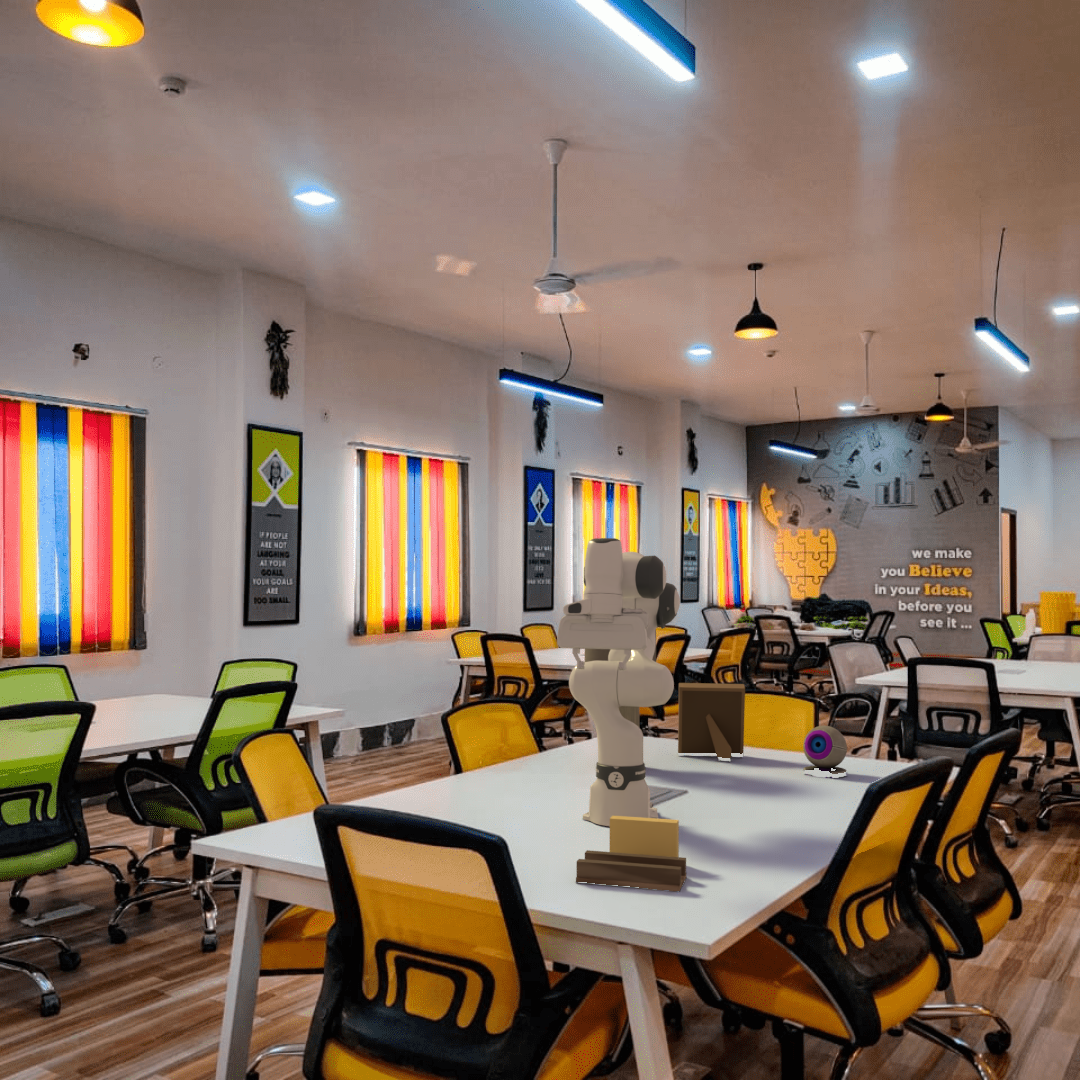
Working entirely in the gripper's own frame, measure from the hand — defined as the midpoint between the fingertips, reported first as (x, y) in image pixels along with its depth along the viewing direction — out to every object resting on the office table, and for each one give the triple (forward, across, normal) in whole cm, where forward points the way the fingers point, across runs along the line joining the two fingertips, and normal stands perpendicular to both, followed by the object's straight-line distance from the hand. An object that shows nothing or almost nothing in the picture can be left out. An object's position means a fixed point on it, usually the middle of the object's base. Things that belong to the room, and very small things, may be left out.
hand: (601, 669), depth 234 cm
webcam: (+28, -54, -107) cm, 123 cm away
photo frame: (+25, -19, -129) cm, 133 cm away
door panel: (+40, -11, +9) cm, 42 cm away
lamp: (+28, +9, -104) cm, 108 cm away
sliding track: (+41, -10, +23) cm, 48 cm away
